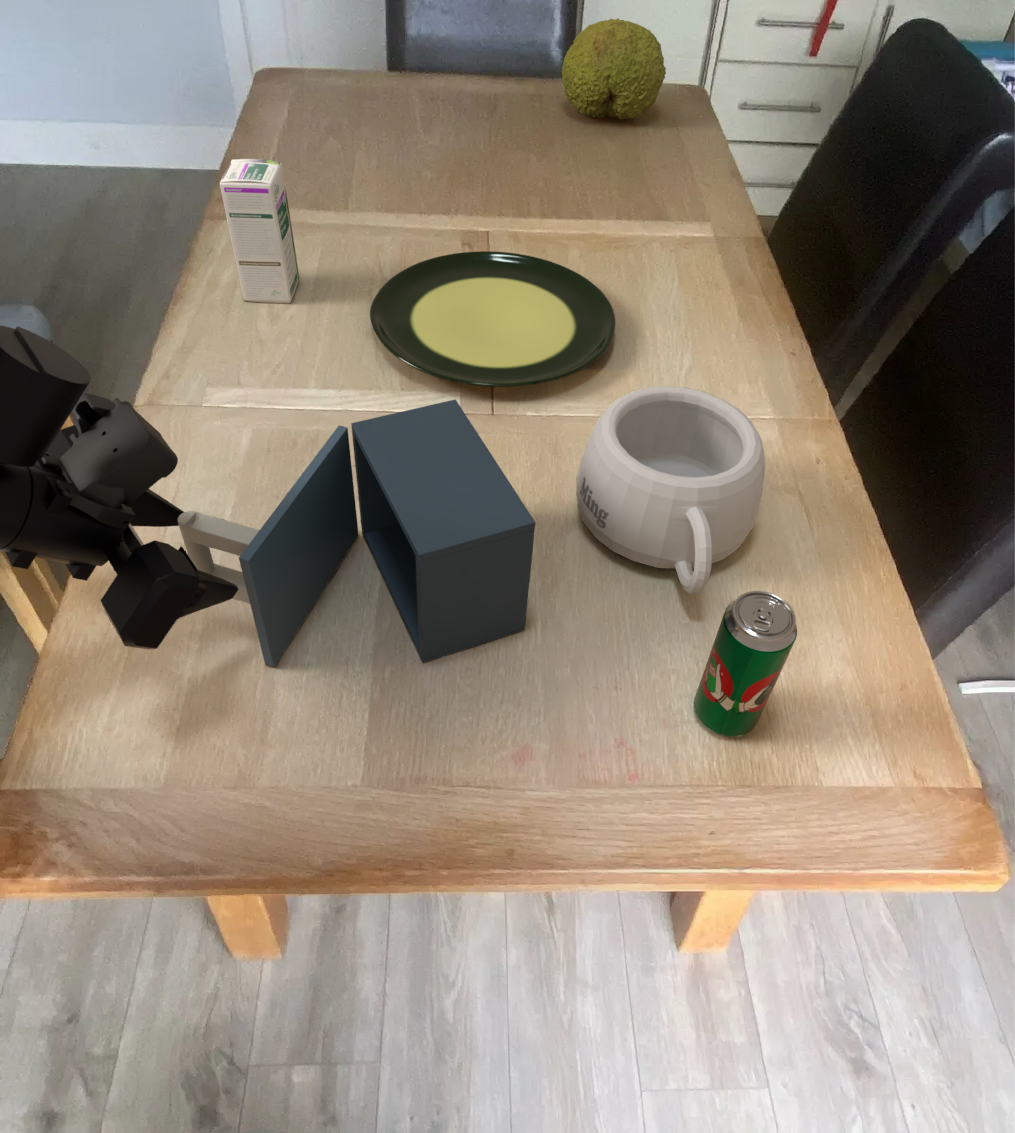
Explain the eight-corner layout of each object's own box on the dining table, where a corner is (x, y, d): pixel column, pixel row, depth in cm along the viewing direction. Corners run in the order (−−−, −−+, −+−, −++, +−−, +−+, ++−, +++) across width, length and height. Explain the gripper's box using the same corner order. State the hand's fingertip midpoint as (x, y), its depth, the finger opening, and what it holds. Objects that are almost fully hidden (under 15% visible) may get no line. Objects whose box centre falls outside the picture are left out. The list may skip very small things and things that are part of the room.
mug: (563, 457, 90) (573, 373, 83) (727, 455, 91) (751, 373, 84) (592, 625, 75) (607, 542, 68) (786, 620, 77) (822, 538, 70)
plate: (662, 361, 102) (666, 342, 100) (444, 433, 92) (444, 413, 90) (531, 249, 118) (533, 231, 116) (332, 300, 107) (331, 281, 106)
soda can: (761, 697, 71) (805, 598, 63) (752, 749, 68) (797, 652, 59) (698, 678, 72) (733, 578, 64) (686, 728, 69) (721, 630, 60)
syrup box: (291, 304, 106) (274, 182, 96) (241, 302, 106) (218, 179, 95) (300, 279, 110) (284, 159, 100) (251, 277, 110) (230, 156, 99)
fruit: (580, 139, 142) (554, 33, 136) (572, 138, 155) (548, 41, 149) (681, 104, 141) (659, -5, 134) (664, 106, 154) (643, 7, 147)
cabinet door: (194, 642, 72) (157, 534, 63) (287, 515, 82) (267, 406, 73) (274, 667, 71) (248, 560, 62) (358, 535, 81) (347, 427, 72)
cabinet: (422, 663, 72) (418, 555, 63) (361, 533, 81) (350, 422, 72) (524, 630, 75) (535, 522, 66) (454, 508, 84) (455, 398, 75)
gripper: (129, 487, 50) (327, 546, 63) (22, 327, 59) (212, 406, 72) (29, 639, 52) (240, 666, 65) (-57, 461, 62) (141, 515, 75)
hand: (208, 554), depth 69 cm, fingers open, 9 cm apart
